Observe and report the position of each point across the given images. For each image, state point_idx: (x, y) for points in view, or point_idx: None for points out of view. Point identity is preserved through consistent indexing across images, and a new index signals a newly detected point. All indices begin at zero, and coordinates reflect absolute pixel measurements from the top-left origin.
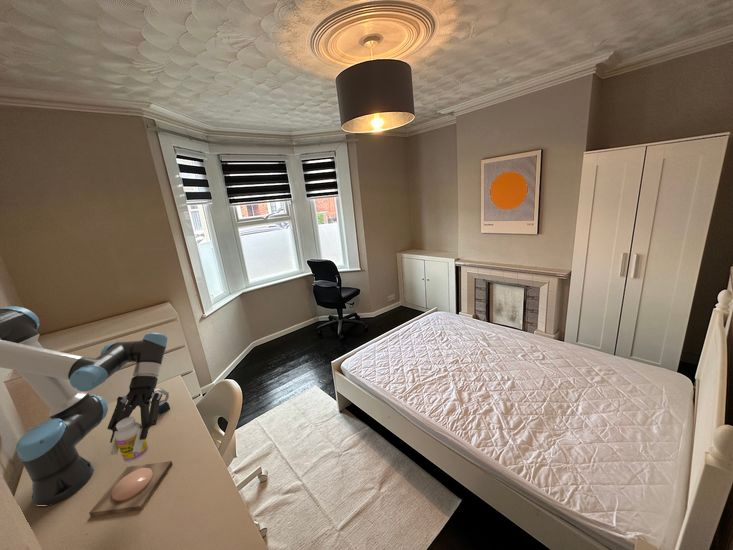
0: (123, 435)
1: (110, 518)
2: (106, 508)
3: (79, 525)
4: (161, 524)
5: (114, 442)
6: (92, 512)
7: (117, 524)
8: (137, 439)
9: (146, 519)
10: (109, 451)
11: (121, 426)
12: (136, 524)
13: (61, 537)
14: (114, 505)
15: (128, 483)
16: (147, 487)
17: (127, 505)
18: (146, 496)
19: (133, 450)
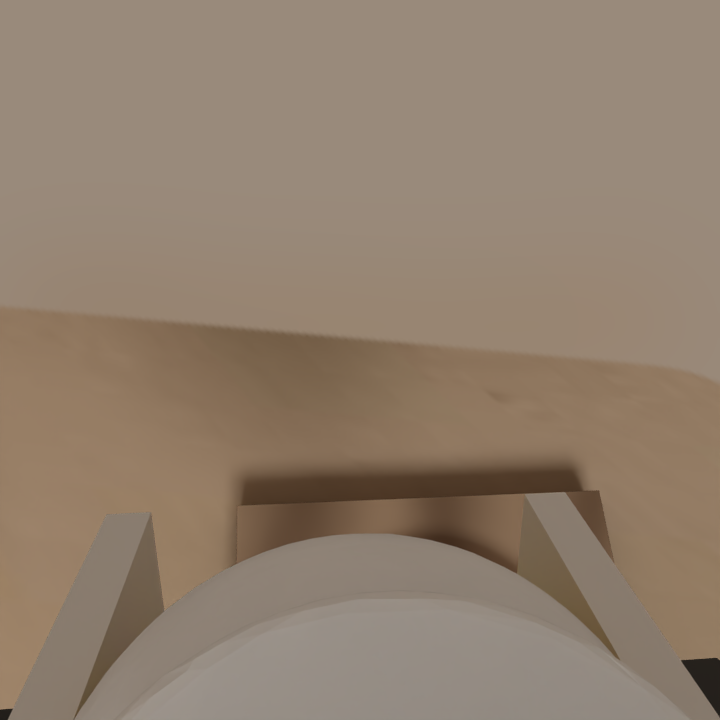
0: (284, 578)
1: (428, 472)
2: (495, 510)
3: (602, 448)
4: (36, 403)
5: (596, 632)
6: (575, 492)
7: (344, 430)
8: (41, 665)
9: (162, 443)
10: (577, 521)
11: (341, 671)
12: (211, 418)
13: (639, 390)
14: (451, 526)
15: None
16: None
17: (346, 516)
18: None
19: (132, 531)
